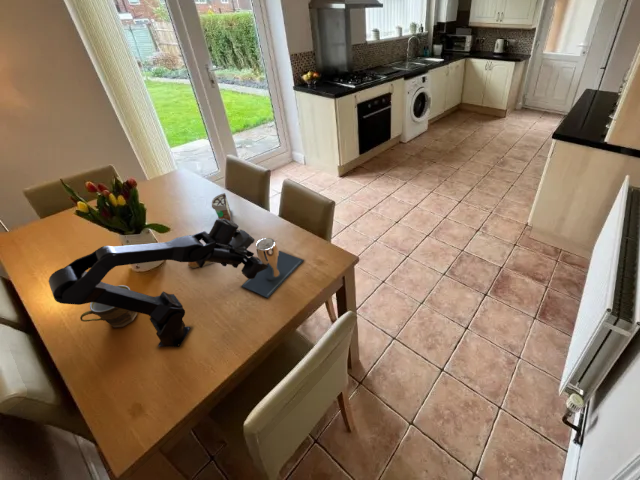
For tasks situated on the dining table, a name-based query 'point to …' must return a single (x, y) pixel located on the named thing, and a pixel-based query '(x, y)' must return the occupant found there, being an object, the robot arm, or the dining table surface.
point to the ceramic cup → (111, 313)
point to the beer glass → (269, 257)
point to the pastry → (194, 265)
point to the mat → (269, 286)
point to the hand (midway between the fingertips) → (260, 260)
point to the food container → (221, 207)
